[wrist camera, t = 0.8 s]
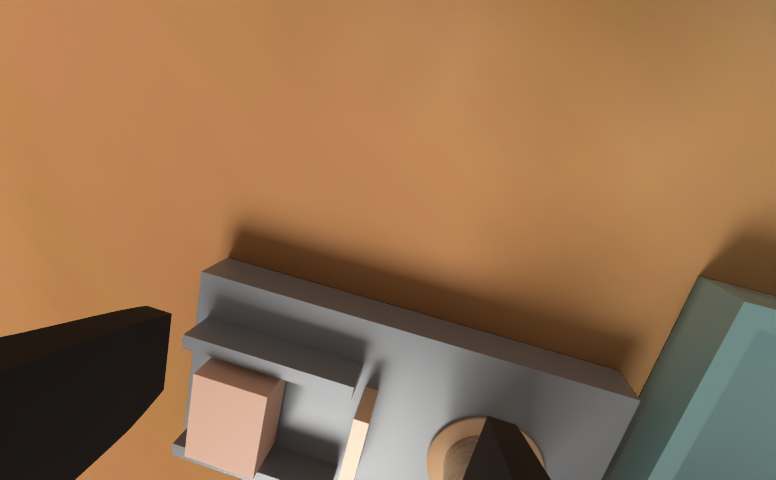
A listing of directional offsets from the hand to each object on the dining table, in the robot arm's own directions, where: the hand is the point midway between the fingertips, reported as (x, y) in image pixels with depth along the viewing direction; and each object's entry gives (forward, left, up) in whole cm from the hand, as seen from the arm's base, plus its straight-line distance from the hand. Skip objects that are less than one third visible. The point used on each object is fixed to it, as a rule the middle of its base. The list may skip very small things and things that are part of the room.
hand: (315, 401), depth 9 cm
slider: (-7, +4, -7) cm, 10 cm away
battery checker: (-7, -2, -9) cm, 11 cm away
